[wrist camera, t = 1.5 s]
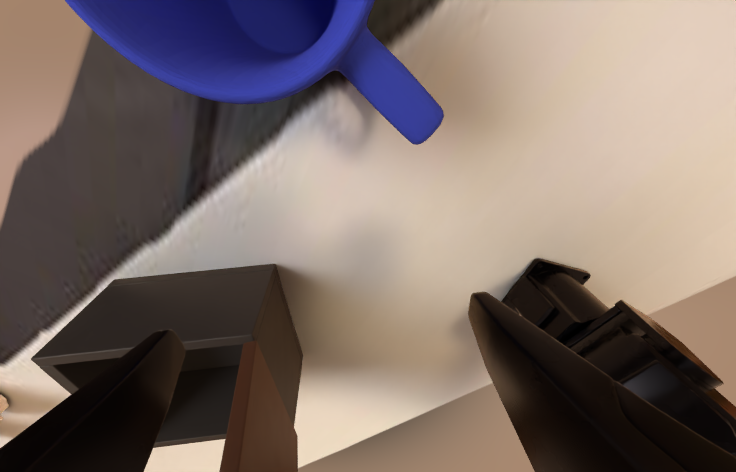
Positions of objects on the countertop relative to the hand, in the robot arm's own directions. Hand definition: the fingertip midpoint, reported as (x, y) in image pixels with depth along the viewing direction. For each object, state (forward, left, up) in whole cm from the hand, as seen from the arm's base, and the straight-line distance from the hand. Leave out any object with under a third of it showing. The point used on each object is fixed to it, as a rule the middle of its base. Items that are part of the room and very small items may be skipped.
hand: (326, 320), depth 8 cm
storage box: (+6, +17, -13) cm, 23 cm away
